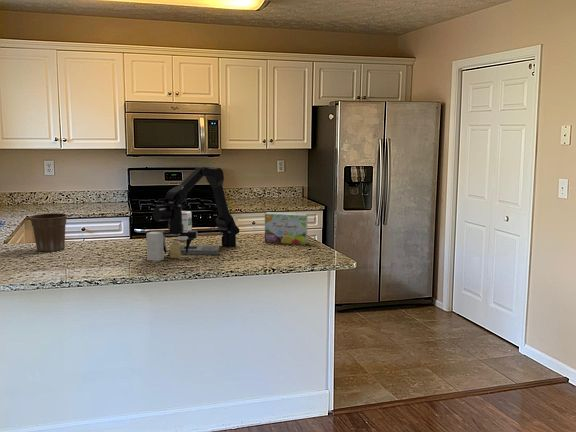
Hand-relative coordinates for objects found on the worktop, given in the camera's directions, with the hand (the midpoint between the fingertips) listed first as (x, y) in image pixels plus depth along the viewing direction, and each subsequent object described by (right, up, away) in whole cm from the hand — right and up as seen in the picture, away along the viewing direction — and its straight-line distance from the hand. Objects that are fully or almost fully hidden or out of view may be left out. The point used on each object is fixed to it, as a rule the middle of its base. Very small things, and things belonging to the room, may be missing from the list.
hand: (176, 253), depth 254 cm
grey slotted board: (+7, 0, +10) cm, 12 cm away
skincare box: (-8, -3, -6) cm, 10 cm away
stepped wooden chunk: (0, -2, 0) cm, 2 cm away
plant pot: (-61, +1, +13) cm, 63 cm away
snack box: (+49, +3, +35) cm, 60 cm away
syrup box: (-3, +4, +41) cm, 41 cm away
